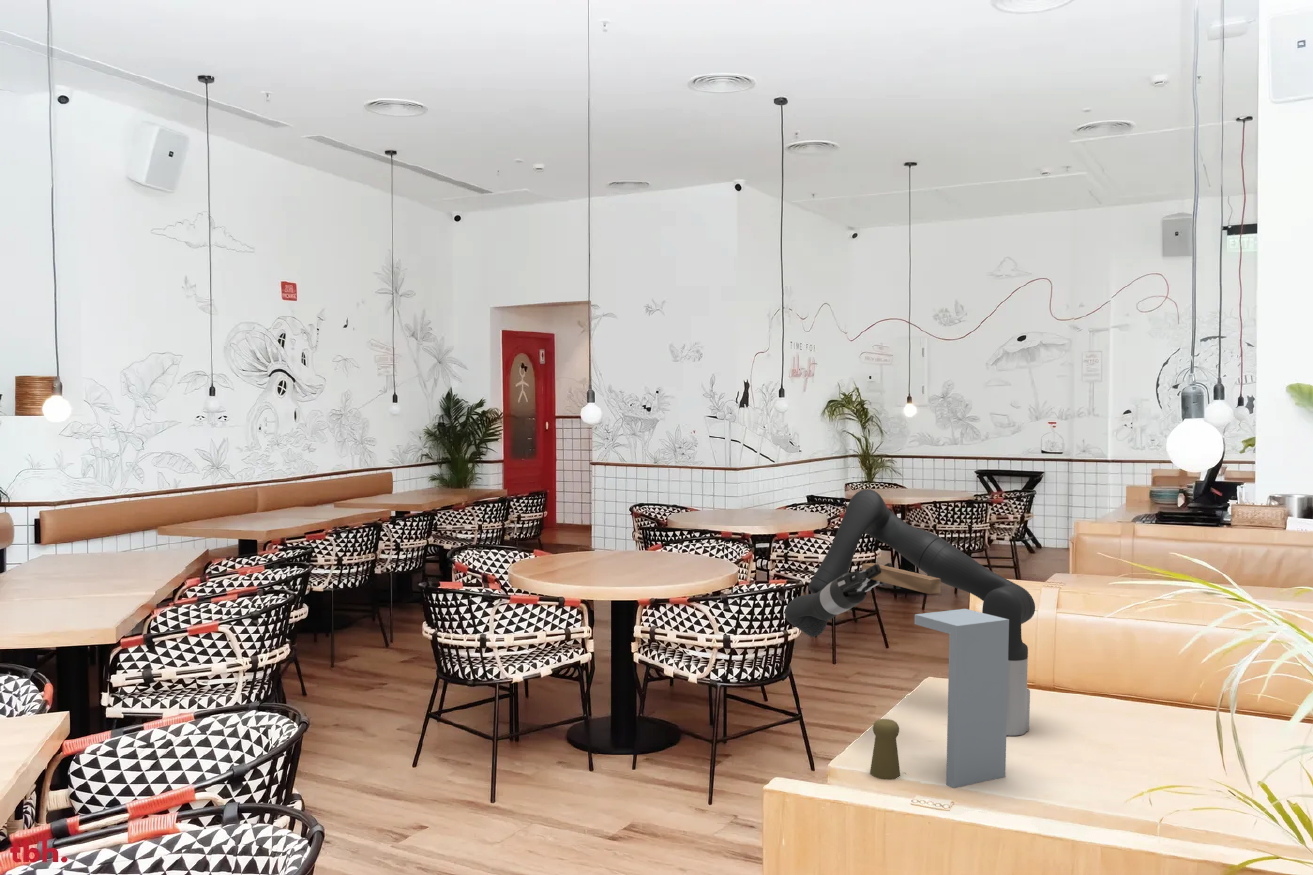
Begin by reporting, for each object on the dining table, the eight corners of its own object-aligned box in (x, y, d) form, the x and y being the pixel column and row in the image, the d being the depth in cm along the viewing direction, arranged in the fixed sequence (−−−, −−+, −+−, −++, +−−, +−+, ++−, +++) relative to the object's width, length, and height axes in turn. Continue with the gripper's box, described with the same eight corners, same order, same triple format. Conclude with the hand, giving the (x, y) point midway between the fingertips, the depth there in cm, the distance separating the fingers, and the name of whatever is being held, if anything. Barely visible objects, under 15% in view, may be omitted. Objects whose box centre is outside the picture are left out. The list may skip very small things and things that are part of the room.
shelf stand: (962, 758, 222) (965, 608, 221) (1005, 776, 212) (1009, 619, 211) (911, 768, 216) (914, 614, 215) (953, 788, 205) (957, 625, 204)
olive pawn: (900, 780, 209) (901, 726, 209) (869, 778, 210) (870, 723, 210) (899, 770, 215) (900, 717, 214) (869, 767, 216) (870, 715, 216)
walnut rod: (872, 576, 239) (872, 562, 239) (940, 593, 220) (940, 578, 220) (862, 576, 238) (862, 563, 238) (929, 594, 218) (930, 579, 218)
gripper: (813, 581, 245) (855, 553, 231) (861, 577, 251) (904, 549, 238) (823, 611, 242) (865, 585, 228) (870, 606, 248) (915, 581, 235)
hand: (885, 567), depth 233 cm, fingers closed on walnut rod, 3 cm apart
